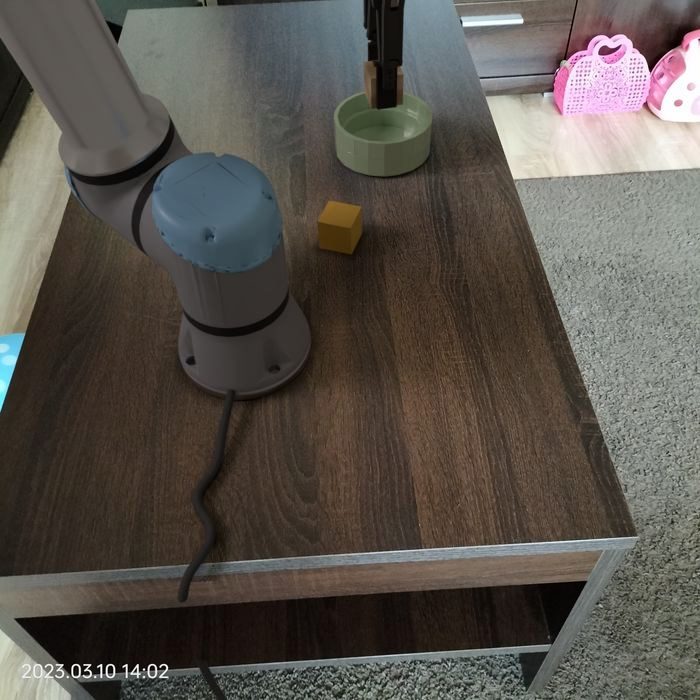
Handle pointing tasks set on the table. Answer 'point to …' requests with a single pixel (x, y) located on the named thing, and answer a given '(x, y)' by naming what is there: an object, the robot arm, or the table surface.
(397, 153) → the pale green pet bowl
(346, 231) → the mustard block
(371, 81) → the beech block
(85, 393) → the table surface
